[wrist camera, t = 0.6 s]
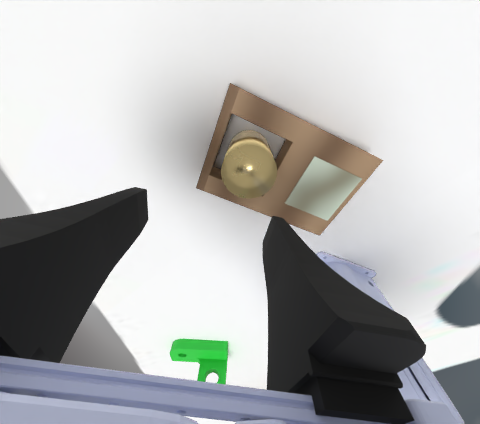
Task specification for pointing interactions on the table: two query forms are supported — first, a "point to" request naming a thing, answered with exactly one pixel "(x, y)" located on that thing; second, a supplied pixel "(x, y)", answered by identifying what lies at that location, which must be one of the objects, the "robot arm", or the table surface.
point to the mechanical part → (203, 356)
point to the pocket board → (293, 165)
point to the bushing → (248, 165)
